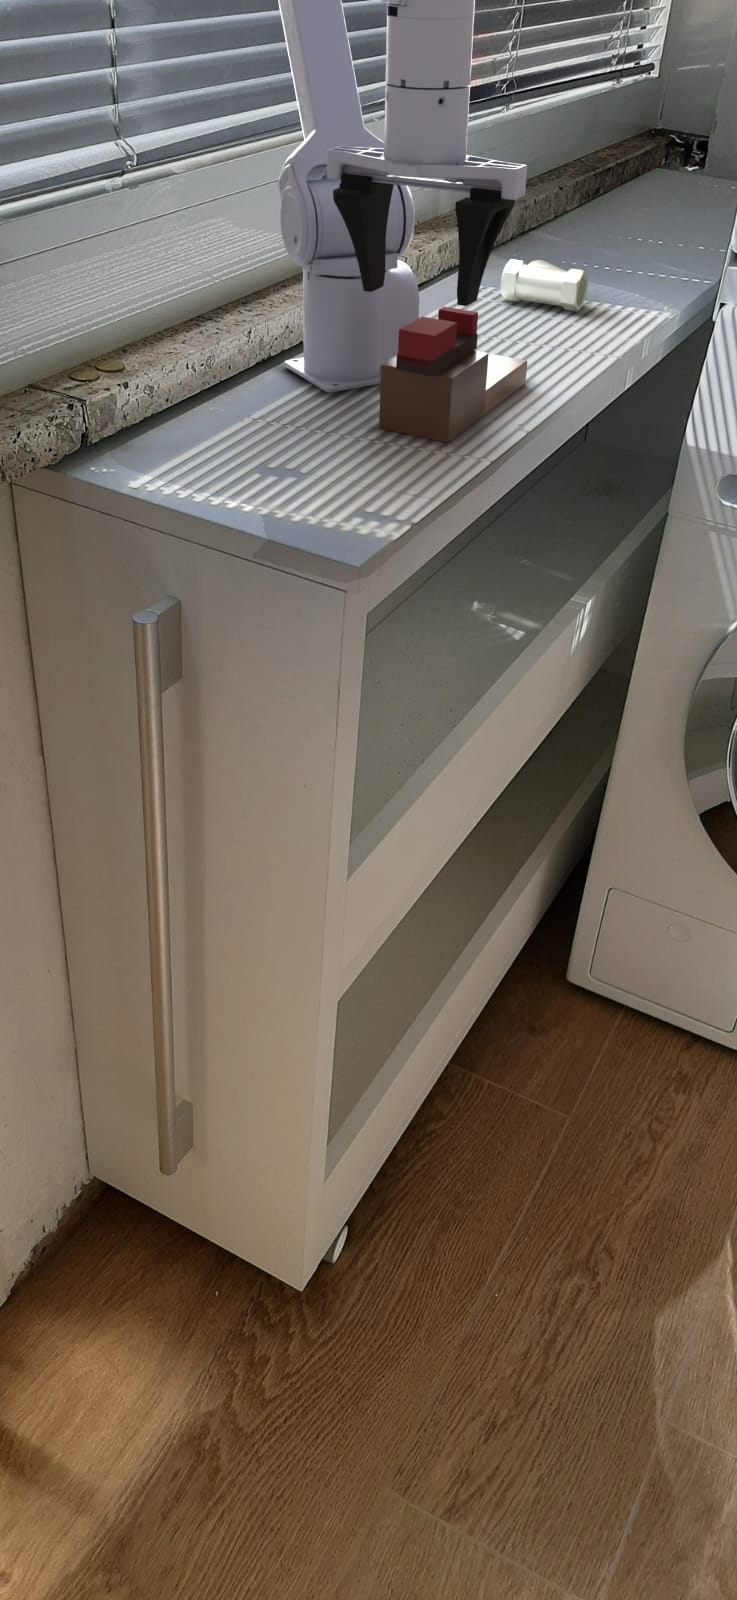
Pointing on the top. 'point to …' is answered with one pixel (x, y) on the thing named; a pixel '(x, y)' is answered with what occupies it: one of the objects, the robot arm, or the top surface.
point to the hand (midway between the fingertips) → (419, 295)
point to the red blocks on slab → (437, 341)
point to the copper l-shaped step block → (446, 395)
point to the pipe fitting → (544, 284)
